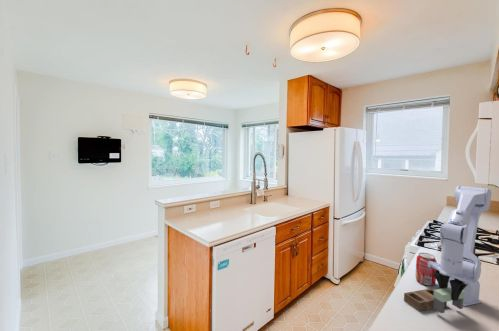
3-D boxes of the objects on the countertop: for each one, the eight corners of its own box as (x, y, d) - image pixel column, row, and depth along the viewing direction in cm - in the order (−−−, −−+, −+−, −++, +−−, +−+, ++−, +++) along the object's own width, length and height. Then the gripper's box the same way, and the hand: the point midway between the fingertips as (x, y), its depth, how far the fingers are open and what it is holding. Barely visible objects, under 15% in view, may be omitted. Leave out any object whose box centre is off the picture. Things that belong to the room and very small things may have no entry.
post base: (430, 295, 92) (430, 288, 92) (446, 305, 86) (447, 297, 86) (403, 300, 88) (404, 293, 88) (418, 311, 83) (419, 303, 83)
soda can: (426, 277, 105) (428, 251, 104) (439, 287, 98) (441, 259, 97) (411, 277, 105) (412, 251, 104) (423, 287, 98) (425, 259, 97)
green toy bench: (453, 303, 85) (455, 286, 84) (463, 309, 82) (464, 291, 81) (432, 307, 82) (434, 290, 82) (441, 313, 79) (443, 295, 79)
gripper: (422, 250, 87) (420, 286, 88) (467, 270, 73) (464, 312, 74) (436, 249, 88) (434, 283, 89) (483, 267, 74) (480, 308, 75)
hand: (448, 296), depth 82 cm, fingers closed on green toy bench, 3 cm apart
